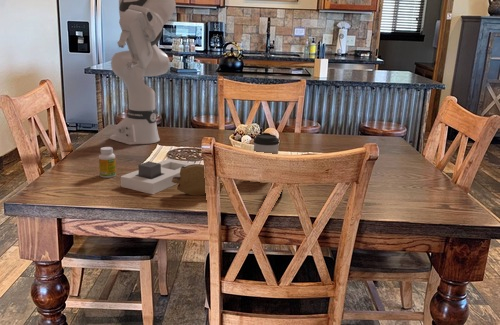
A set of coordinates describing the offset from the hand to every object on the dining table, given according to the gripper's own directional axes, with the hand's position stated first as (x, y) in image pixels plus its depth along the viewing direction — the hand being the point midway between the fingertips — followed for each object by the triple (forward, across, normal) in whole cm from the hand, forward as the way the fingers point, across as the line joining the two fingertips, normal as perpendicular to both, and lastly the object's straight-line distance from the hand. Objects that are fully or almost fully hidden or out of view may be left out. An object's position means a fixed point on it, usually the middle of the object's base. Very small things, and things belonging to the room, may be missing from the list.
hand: (124, 57), depth 147 cm
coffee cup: (+3, -41, +46) cm, 62 cm away
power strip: (+20, -33, +16) cm, 42 cm away
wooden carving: (+24, -26, +33) cm, 48 cm away
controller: (+15, -29, +55) cm, 64 cm away
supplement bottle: (+25, -33, -3) cm, 42 cm away
